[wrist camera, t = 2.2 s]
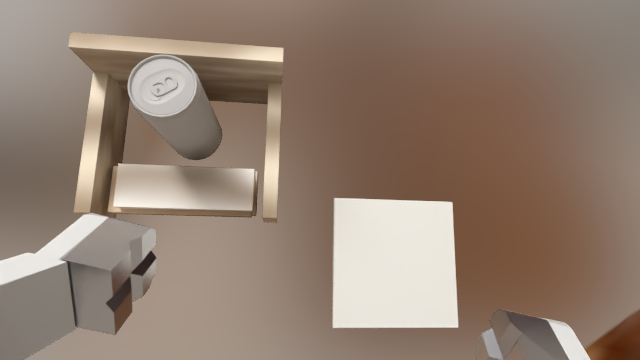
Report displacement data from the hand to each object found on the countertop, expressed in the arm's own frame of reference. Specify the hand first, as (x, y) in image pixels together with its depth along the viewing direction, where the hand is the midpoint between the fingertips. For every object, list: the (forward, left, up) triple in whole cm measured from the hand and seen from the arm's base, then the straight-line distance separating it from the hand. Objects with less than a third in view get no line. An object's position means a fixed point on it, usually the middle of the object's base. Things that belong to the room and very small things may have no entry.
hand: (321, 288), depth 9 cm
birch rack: (-1, +14, -28) cm, 31 cm away
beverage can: (-1, +15, -28) cm, 32 cm away
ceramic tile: (+9, -6, -28) cm, 30 cm away
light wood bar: (-4, +10, -28) cm, 30 cm away
